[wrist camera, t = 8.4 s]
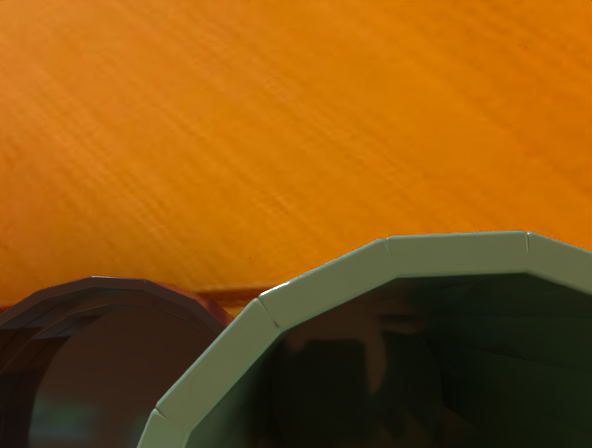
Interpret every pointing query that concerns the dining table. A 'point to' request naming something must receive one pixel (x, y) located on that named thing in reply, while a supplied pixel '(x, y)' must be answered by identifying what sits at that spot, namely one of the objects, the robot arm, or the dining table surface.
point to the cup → (401, 353)
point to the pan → (97, 359)
